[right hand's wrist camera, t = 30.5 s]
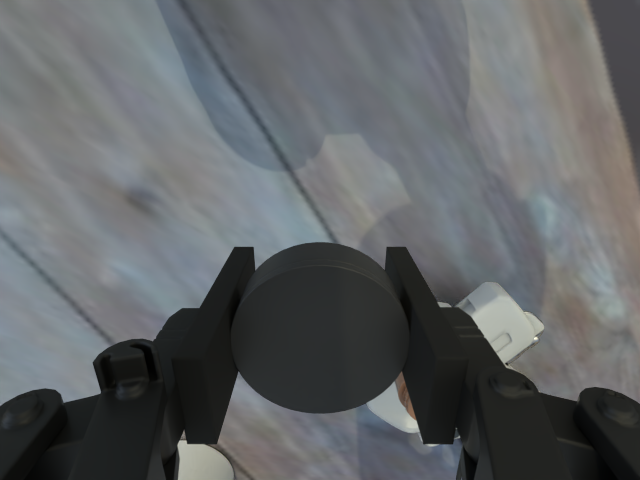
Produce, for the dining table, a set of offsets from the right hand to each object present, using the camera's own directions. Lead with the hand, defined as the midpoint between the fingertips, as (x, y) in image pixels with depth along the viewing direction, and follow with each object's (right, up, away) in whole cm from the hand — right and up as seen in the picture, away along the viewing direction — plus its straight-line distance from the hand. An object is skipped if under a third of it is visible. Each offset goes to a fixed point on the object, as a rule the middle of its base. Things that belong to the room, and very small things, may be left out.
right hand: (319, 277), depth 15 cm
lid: (0, -1, -4) cm, 4 cm away
